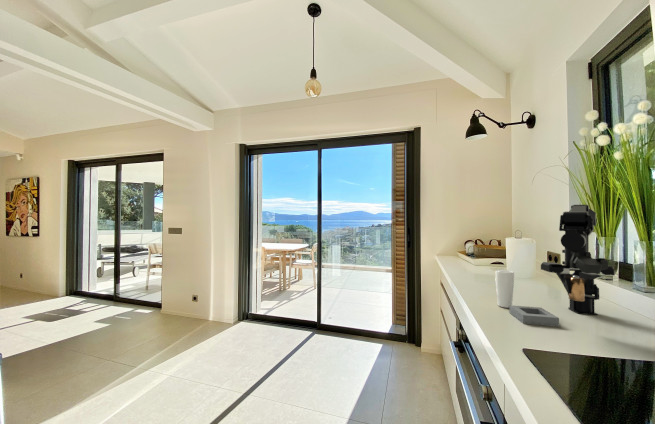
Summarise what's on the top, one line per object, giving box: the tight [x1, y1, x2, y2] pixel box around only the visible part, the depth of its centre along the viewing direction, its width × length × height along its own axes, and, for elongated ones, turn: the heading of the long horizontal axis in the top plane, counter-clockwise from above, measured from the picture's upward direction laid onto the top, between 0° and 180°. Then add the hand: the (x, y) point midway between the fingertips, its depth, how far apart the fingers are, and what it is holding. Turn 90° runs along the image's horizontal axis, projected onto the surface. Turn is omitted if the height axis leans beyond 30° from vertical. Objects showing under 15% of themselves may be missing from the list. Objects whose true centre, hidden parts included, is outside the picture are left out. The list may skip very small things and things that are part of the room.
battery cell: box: [568, 276, 585, 301], centre depth 91 cm, size 4×4×8 cm
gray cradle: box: [509, 304, 560, 328], centre depth 99 cm, size 11×11×3 cm
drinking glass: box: [494, 269, 515, 309], centre depth 114 cm, size 7×7×15 cm
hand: (576, 293), depth 91 cm, fingers closed on battery cell, 4 cm apart
